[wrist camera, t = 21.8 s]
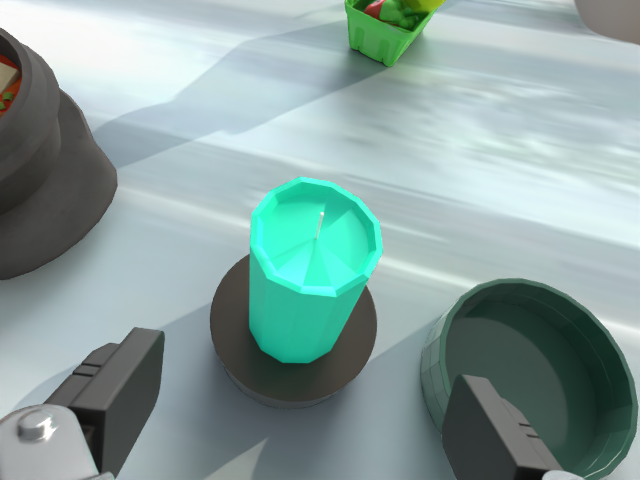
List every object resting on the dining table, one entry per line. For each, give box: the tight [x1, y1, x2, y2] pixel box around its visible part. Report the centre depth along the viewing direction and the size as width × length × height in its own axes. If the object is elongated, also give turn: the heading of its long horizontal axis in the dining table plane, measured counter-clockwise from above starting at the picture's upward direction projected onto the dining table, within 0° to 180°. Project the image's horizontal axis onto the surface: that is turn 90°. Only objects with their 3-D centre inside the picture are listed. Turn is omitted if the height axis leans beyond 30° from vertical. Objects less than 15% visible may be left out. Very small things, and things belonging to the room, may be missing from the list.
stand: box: [210, 254, 377, 409], centre depth 31 cm, size 11×11×4 cm
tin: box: [421, 278, 638, 480], centre depth 31 cm, size 13×13×4 cm
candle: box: [249, 177, 383, 363], centre depth 24 cm, size 6×6×12 cm
